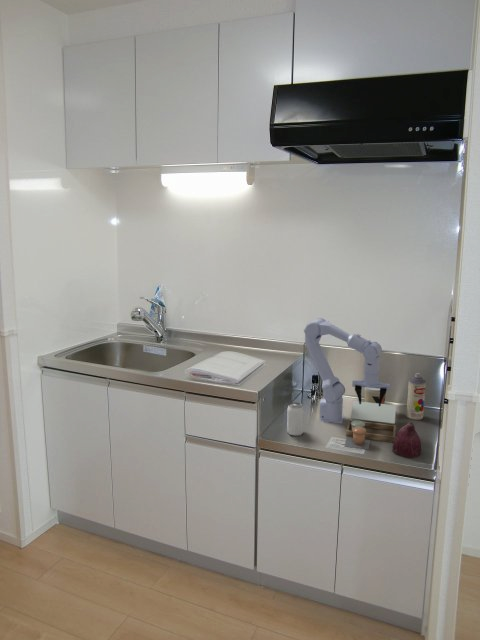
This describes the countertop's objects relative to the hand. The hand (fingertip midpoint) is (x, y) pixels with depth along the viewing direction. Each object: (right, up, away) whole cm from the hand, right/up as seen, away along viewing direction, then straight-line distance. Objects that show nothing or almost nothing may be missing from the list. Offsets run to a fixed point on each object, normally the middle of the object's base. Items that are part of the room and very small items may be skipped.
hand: (369, 404), depth 203 cm
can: (-31, -12, -1) cm, 33 cm away
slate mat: (-8, -13, -11) cm, 19 cm away
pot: (-7, -13, -11) cm, 19 cm away
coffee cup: (+6, -7, +18) cm, 20 cm away
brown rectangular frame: (+1, -11, +1) cm, 11 cm away
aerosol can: (+22, -8, +12) cm, 26 cm away
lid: (+3, -4, +6) cm, 8 cm away
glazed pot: (-6, -11, -3) cm, 13 cm away
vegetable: (+9, -15, -18) cm, 25 cm away
